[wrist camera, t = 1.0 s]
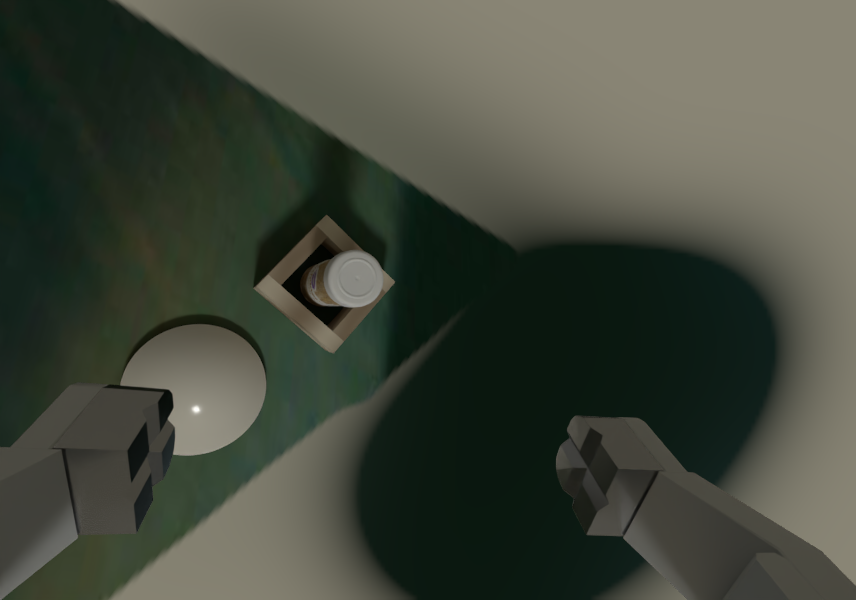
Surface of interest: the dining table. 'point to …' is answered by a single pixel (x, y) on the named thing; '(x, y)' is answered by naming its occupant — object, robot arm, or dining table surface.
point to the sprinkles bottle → (343, 280)
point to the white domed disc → (202, 383)
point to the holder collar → (293, 309)
